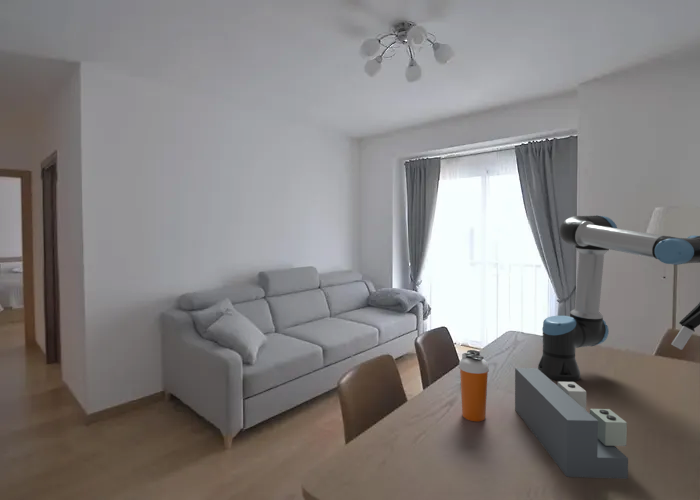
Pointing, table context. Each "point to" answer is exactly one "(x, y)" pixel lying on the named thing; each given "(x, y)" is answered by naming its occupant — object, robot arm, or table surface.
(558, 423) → the grey stepped stand
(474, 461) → the table surface
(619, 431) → the key two
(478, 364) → the shaker bottle
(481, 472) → the table surface
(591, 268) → the robot arm
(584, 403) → the key one
